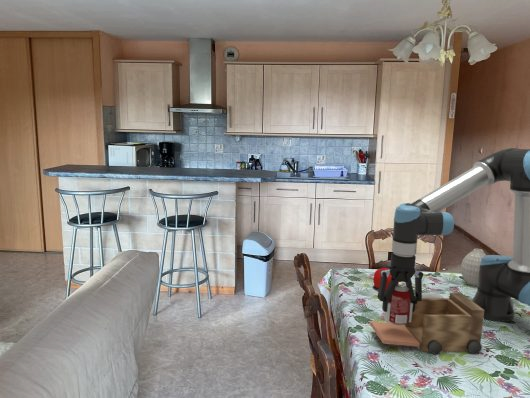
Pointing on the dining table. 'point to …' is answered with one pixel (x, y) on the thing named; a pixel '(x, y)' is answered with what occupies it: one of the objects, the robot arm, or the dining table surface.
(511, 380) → the dining table surface
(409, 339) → the cabinet door
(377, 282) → the tomato
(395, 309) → the soda can
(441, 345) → the truck
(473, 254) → the vase
